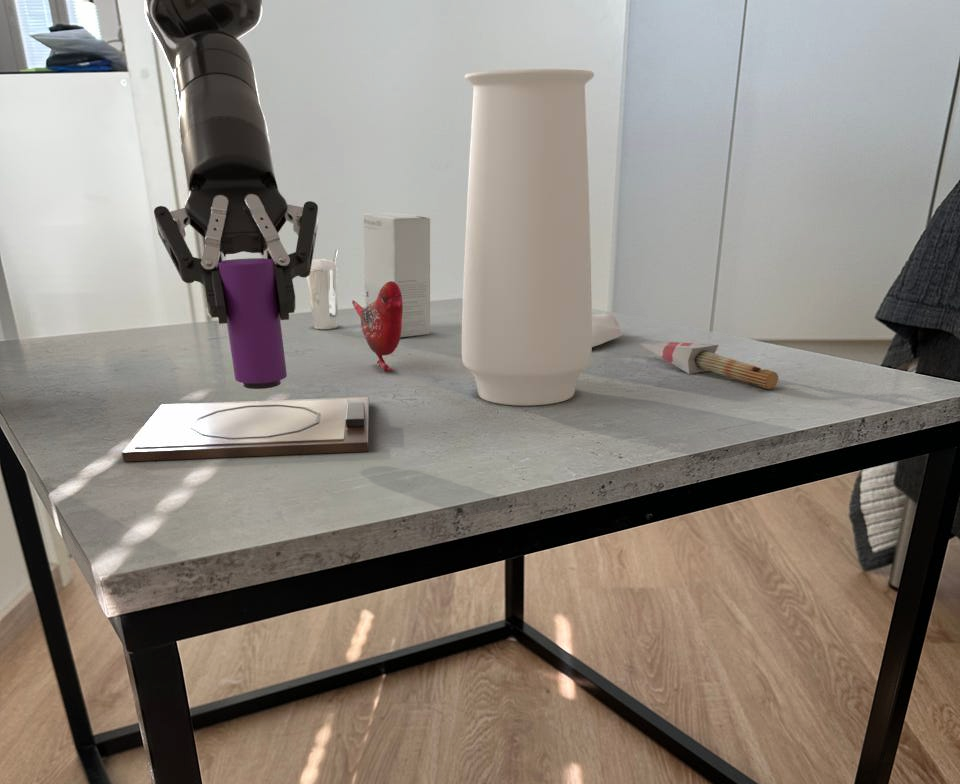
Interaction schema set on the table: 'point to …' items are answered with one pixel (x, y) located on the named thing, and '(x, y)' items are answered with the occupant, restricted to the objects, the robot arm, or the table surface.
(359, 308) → the decorative bird figurine
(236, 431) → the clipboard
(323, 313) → the milkshake
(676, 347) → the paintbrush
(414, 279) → the cosmetic box
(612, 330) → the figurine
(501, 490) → the table surface
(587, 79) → the vase
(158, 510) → the table surface
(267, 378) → the dot marker
